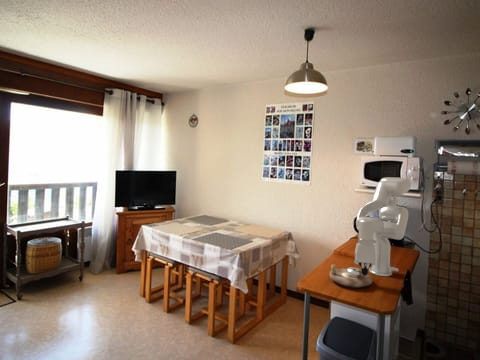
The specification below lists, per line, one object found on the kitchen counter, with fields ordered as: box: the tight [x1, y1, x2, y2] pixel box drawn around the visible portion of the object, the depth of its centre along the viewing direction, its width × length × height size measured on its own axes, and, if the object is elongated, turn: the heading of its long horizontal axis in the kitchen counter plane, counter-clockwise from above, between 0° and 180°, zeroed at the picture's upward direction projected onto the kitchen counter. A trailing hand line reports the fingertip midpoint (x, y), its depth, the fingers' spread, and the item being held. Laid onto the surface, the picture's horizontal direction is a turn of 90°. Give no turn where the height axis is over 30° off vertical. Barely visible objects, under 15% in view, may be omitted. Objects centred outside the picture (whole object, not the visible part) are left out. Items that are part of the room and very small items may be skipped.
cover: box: [346, 266, 361, 278], centre depth 162 cm, size 7×7×4 cm
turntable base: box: [335, 282, 365, 289], centre depth 162 cm, size 16×16×2 cm
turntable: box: [329, 264, 373, 288], centre depth 162 cm, size 22×22×6 cm
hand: (364, 274), depth 160 cm, fingers closed
